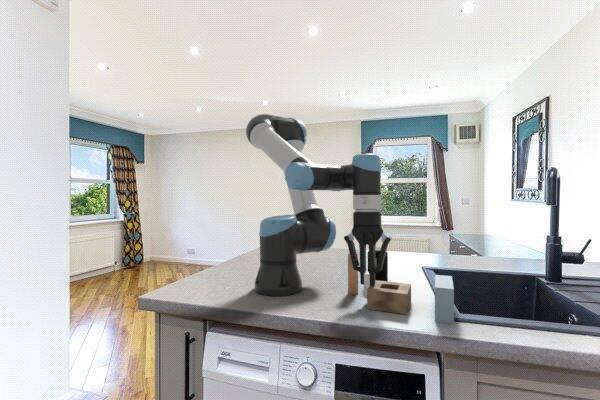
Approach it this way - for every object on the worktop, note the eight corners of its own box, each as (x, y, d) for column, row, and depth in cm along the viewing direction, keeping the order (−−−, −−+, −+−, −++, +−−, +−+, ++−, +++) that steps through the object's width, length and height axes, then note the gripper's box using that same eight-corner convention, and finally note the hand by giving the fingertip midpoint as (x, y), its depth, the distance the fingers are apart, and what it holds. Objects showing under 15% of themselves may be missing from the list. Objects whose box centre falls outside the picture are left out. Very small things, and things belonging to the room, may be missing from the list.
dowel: (346, 294, 93) (346, 254, 93) (349, 291, 96) (349, 252, 96) (356, 295, 92) (356, 255, 92) (359, 292, 95) (358, 253, 95)
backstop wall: (434, 321, 72) (434, 287, 72) (435, 304, 84) (435, 274, 84) (454, 324, 71) (453, 289, 71) (452, 306, 83) (451, 276, 83)
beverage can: (388, 287, 100) (388, 250, 100) (367, 286, 101) (367, 250, 101) (387, 282, 107) (386, 247, 106) (367, 281, 108) (367, 246, 108)
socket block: (367, 308, 80) (367, 289, 80) (374, 297, 90) (374, 280, 90) (407, 314, 76) (407, 294, 76) (411, 302, 85) (411, 283, 85)
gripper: (340, 211, 85) (341, 297, 84) (389, 211, 79) (390, 303, 79) (347, 210, 91) (348, 290, 91) (393, 210, 86) (394, 295, 86)
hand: (368, 296), depth 85 cm, fingers closed
